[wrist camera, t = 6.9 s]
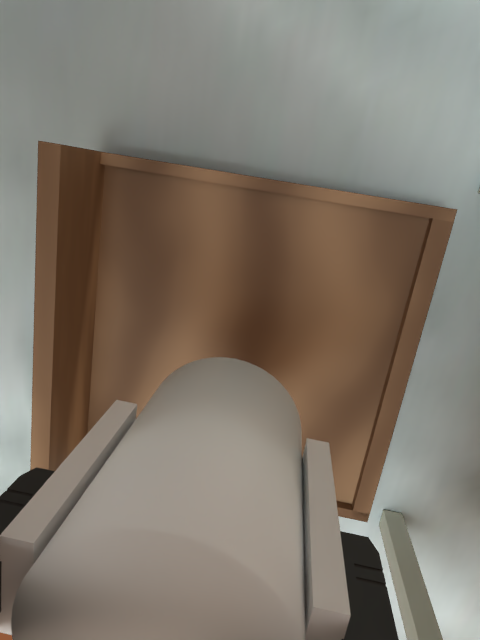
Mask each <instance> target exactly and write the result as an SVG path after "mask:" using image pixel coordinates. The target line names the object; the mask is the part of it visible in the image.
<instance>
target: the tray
mask: <svg viewBox="0 0 480 640" xmlns="http://www.w3.org/2000/svg"><path fill="white" fill-rule="evenodd" d="M456 213H457V210H456V209H450V208H444V207H438V206H431V205H425V204H419V203H413V202H407V201H401V200H395V199H388V198H382V197H376V196H370V195H364V194H358V193H351V192H345V191H339V190H333V189H327V188H321V187H315V186H308V185H302V184H296V183H290V182H284V181H278V180H271V179H265V178H259V177H253V176H247V175H241V174H235V173H228V172H222V171H216V170H210V169H204V168H198V167H191V166H185V165H179V164H173V163H167V162H161V161H154V160H148V159H142V158H136V157H130V156H124V155H118V154H111V153H105V152H99V151H94V150H88V149H83V148H77V147H72V146H67V145H61V144H55V143H49V142H43V141H38V176H37V218H36V260H35V302H34V344H33V386H32V427H31V469H30V470H32V469H34V468H36V467H38V468H42V469H47V470H52V471H56V470H57V468H58V467H59V466H60V465H61V464H62V463H63V461H64V460H65V459H66V458H67V457H68V456H69V454H70V453H71V452H72V451H73V450H74V449H75V447H76V446H77V445H78V444H79V443H80V442H81V440H82V439H83V438H84V437H85V436H86V435H87V433H88V432H89V431H90V430H91V429H92V428H93V427H94V425H95V424H96V423H97V422H98V421H99V420H100V418H101V417H102V416H103V415H104V414H105V413H106V411H107V410H108V409H109V408H110V407H111V406H112V404H113V403H114V402H115V401H116V400H120V401H125V402H130V403H135V404H137V413H136V418H137V417H138V416H139V414H140V413H141V411H142V410H143V409H144V407H145V406H146V404H147V403H148V402H149V400H150V399H151V397H152V396H153V394H154V393H155V392H156V390H157V389H158V387H159V386H160V385H161V383H162V382H163V381H164V380H165V379H166V378H167V377H168V376H169V375H170V374H171V373H173V372H174V371H175V370H177V369H178V368H180V367H182V366H184V365H185V364H188V363H190V362H193V361H196V360H200V359H204V358H213V357H226V358H233V359H238V360H242V361H246V362H248V363H251V364H253V365H256V366H258V367H260V368H261V369H263V370H265V371H266V372H268V373H269V374H271V375H272V376H273V377H275V378H276V379H277V380H278V381H279V382H280V383H281V384H282V385H283V386H284V388H285V389H286V390H287V391H288V393H289V394H290V396H291V398H292V399H293V401H294V403H295V405H296V408H297V410H298V413H299V417H300V422H301V436H302V457H303V453H304V448H305V444H306V439H307V438H308V439H313V440H318V441H323V442H328V443H329V447H330V455H331V463H332V470H333V478H334V486H335V494H336V502H337V510H338V516H341V517H345V518H350V519H355V520H359V521H364V522H367V521H368V518H369V514H370V511H371V507H372V504H373V500H374V497H375V493H376V490H377V486H378V483H379V480H380V476H381V473H382V469H383V466H384V462H385V459H386V455H387V452H388V448H389V445H390V441H391V438H392V434H393V431H394V427H395V424H396V421H397V417H398V414H399V410H400V407H401V403H402V400H403V396H404V393H405V389H406V386H407V382H408V379H409V375H410V372H411V369H412V365H413V362H414V358H415V355H416V351H417V348H418V344H419V341H420V337H421V334H422V330H423V327H424V323H425V320H426V317H427V313H428V310H429V306H430V303H431V299H432V296H433V292H434V289H435V285H436V282H437V278H438V275H439V271H440V268H441V265H442V261H443V258H444V254H445V251H446V247H447V244H448V240H449V237H450V233H451V230H452V226H453V223H454V219H455V216H456Z"/></svg>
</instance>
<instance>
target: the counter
mask: <svg viewBox="0 0 480 640" xmlns="http://www.w3.org/2000/svg"><path fill="white" fill-rule="evenodd" d="M478 193H480V188H479V191H478ZM379 527H380V531H381V535H382V539H383V543H384V547H385V551H386V555H387V559H388V563H389V568H390V572H391V576H392V580H393V584H394V588H395V592H396V596H397V600H398V604H399V608H400V612H401V616H402V620H403V625H404V629H405V633H406V637H407V640H443V638H442V635H441V632H440V629H439V626H438V623H437V620H436V617H435V614H434V611H433V608H432V604H431V601H430V598H429V595H428V592H427V589H426V586H425V583H424V580H423V577H422V574H421V571H420V568H419V564H418V561H417V558H416V555H415V552H414V549H413V546H412V543H411V540H410V537H409V534H408V531H407V527H406V524H405V521H404V518H403V515H402V513H397V512H392V511H387V510H383V513H382V516H381V520H380V523H379Z"/></svg>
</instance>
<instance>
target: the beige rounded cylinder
mask: <svg viewBox="0 0 480 640" xmlns="http://www.w3.org/2000/svg"><path fill="white" fill-rule="evenodd" d="M11 628H12V638H13V640H306V633H305V584H304V534H303V485H302V436H301V422H300V417H299V413H298V410H297V408H296V405H295V403H294V401H293V399H292V398H291V396H290V394H289V393H288V391H287V390H286V389H285V388H284V386H283V385H282V384H281V383H280V382H279V381H278V380H277V379H276V378H275V377H273V376H272V375H271V374H269V373H268V372H266V371H265V370H263V369H261V368H260V367H258V366H256V365H253V364H251V363H248V362H246V361H242V360H238V359H233V358H226V357H213V358H204V359H200V360H196V361H193V362H190V363H188V364H185V365H184V366H182V367H180V368H178V369H177V370H175V371H174V372H173V373H171V374H170V375H169V376H168V377H167V378H166V379H165V380H164V381H163V382H162V383H161V385H160V386H159V387H158V389H157V390H156V392H155V393H154V394H153V396H152V397H151V399H150V400H149V402H148V403H147V404H146V406H145V407H144V409H143V410H142V411H141V413H140V414H139V416H138V417H137V418H136V420H135V421H134V423H133V424H132V426H131V427H130V428H129V430H128V431H127V433H126V434H125V435H124V437H123V438H122V440H121V441H120V443H119V444H118V445H117V447H116V448H115V450H114V451H113V452H112V454H111V455H110V457H109V458H108V460H107V461H106V462H105V464H104V465H103V467H102V468H101V469H100V471H99V472H98V474H97V475H96V476H95V478H94V479H93V481H92V482H91V484H90V485H89V486H88V488H87V489H86V491H85V492H84V493H83V495H82V496H81V498H80V499H79V501H78V502H77V503H76V505H75V506H74V508H73V509H72V510H71V512H70V513H69V515H68V516H67V518H66V519H65V520H64V522H63V523H62V525H61V526H60V527H59V529H58V530H57V532H56V533H55V535H54V536H53V537H52V539H51V540H50V542H49V543H48V544H47V546H46V547H45V549H44V550H43V551H42V553H41V554H40V556H39V557H38V559H37V560H36V561H35V563H34V564H33V566H32V567H31V568H30V570H29V571H28V573H27V574H26V576H25V577H24V578H23V580H22V582H21V584H20V586H19V588H18V590H17V593H16V596H15V600H14V603H13V608H12V617H11Z"/></svg>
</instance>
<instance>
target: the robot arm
mask: <svg viewBox="0 0 480 640" xmlns="http://www.w3.org/2000/svg"><path fill="white" fill-rule="evenodd" d="M136 413H137V404H135V403H130V402H125V401H120V400H116V401H115V402H114V403H113V404H112V406H111V407H110V408H109V409H108V410H107V411H106V413H105V414H104V415H103V416H102V417H101V418H100V420H99V421H98V422H97V423H96V424H95V425H94V427H93V428H92V429H91V430H90V431H89V432H88V433H87V435H86V436H85V437H84V438H83V439H82V440H81V442H80V443H79V444H78V445H77V446H76V447H75V449H74V450H73V451H72V452H71V453H70V454H69V456H68V457H67V458H66V459H65V460H64V461H63V463H62V464H61V465H60V466H59V467H58V468H57V470H56V471H52V470H47V469H42V468H38V467H36V468H34V469H32V470H30V471H29V472H27V473H25V474H23V475H21V476H19V477H18V478H17V479H16V481H15V482H14V483H13V484H12V485H11V486H10V487H9V488H8V489H7V491H5V492H4V493H3V494H2V495H1V496H0V632H2V633H5V634H10V635H12V628H11V617H12V608H13V603H14V600H15V596H16V593H17V590H18V588H19V586H20V584H21V582H22V580H23V578H24V577H25V576H26V574H27V573H28V571H29V570H30V568H31V567H32V566H33V564H34V563H35V561H36V560H37V559H38V557H39V556H40V554H41V553H42V551H43V550H44V549H45V547H46V546H47V544H48V543H49V542H50V540H51V539H52V537H53V536H54V535H55V533H56V532H57V530H58V529H59V527H60V526H61V525H62V523H63V522H64V520H65V519H66V518H67V516H68V515H69V513H70V512H71V510H72V509H73V508H74V506H75V505H76V503H77V502H78V501H79V499H80V498H81V496H82V495H83V493H84V492H85V491H86V489H87V488H88V486H89V485H90V484H91V482H92V481H93V479H94V478H95V476H96V475H97V474H98V472H99V471H100V469H101V468H102V467H103V465H104V464H105V462H106V461H107V460H108V458H109V457H110V455H111V454H112V452H113V451H114V450H115V448H116V447H117V445H118V444H119V443H120V441H121V440H122V438H123V437H124V435H125V434H126V433H127V431H128V430H129V428H130V427H131V426H132V424H133V423H134V421H135V420H136ZM302 485H303V534H304V584H305V633H306V640H399V639H398V636H397V631H396V627H395V622H394V618H393V613H392V609H391V604H390V600H389V596H388V591H387V587H386V586H385V585H386V582H385V578H384V573H382V571H383V569H382V565H381V560H380V556H379V553H378V551H377V550H376V548H375V547H374V545H373V544H372V542H371V541H370V539H369V538H368V537H364V536H360V535H355V534H350V533H346V532H341V531H340V526H339V518H338V510H337V502H336V494H335V486H334V478H333V470H332V463H331V455H330V447H329V443H328V442H323V441H318V440H313V439H308V438H307V439H306V444H305V448H304V453H303V457H302Z"/></svg>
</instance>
